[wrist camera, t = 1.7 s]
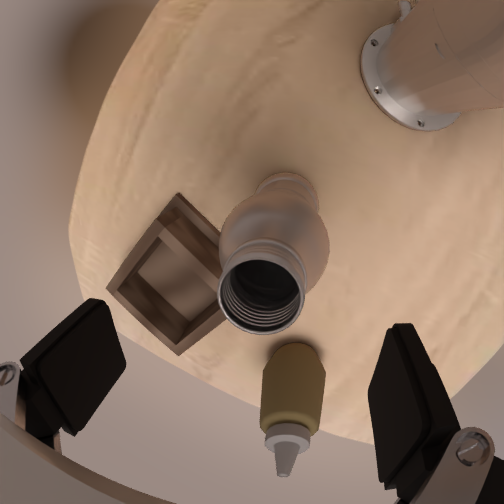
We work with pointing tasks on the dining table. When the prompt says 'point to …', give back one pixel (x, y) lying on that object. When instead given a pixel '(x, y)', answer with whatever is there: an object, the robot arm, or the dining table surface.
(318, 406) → the squeeze bottle
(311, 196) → the plastic bottle
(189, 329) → the bottle caddy
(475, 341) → the dining table surface
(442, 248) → the dining table surface
